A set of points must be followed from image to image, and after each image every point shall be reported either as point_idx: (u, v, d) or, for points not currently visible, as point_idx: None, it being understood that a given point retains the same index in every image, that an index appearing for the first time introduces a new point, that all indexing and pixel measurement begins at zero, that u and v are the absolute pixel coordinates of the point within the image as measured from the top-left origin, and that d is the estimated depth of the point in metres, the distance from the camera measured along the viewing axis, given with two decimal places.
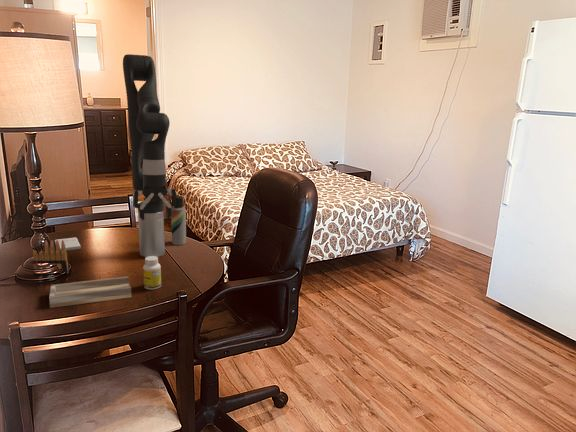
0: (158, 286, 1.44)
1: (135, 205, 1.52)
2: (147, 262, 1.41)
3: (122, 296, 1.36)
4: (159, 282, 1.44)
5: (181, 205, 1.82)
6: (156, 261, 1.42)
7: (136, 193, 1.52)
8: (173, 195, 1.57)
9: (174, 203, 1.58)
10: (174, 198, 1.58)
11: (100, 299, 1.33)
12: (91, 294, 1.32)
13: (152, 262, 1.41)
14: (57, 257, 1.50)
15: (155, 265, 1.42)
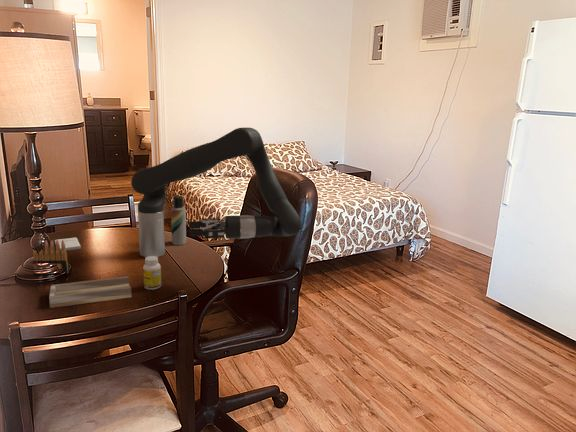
0: (158, 286, 1.44)
1: None
2: (147, 262, 1.41)
3: (122, 296, 1.36)
4: (159, 282, 1.44)
5: (181, 205, 1.82)
6: (156, 261, 1.42)
7: None
8: None
9: None
10: None
11: (100, 299, 1.33)
12: (91, 294, 1.32)
13: (152, 262, 1.41)
14: (57, 257, 1.50)
15: (155, 265, 1.42)
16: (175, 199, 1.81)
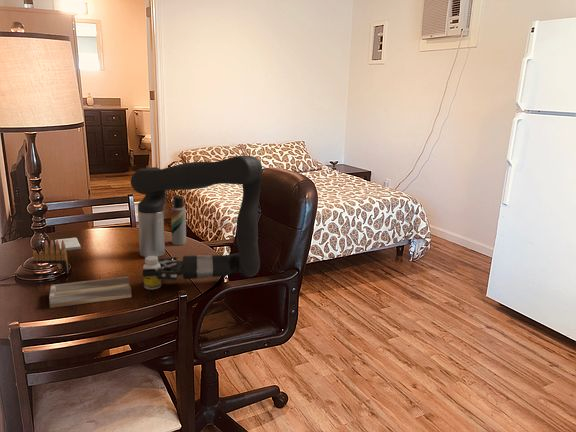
0: (158, 286, 1.44)
1: None
2: (147, 262, 1.41)
3: (122, 296, 1.36)
4: (159, 282, 1.44)
5: (181, 205, 1.82)
6: (156, 261, 1.42)
7: None
8: None
9: None
10: None
11: (100, 299, 1.33)
12: (91, 294, 1.32)
13: (152, 262, 1.41)
14: (57, 257, 1.50)
15: (155, 265, 1.42)
16: (175, 199, 1.81)
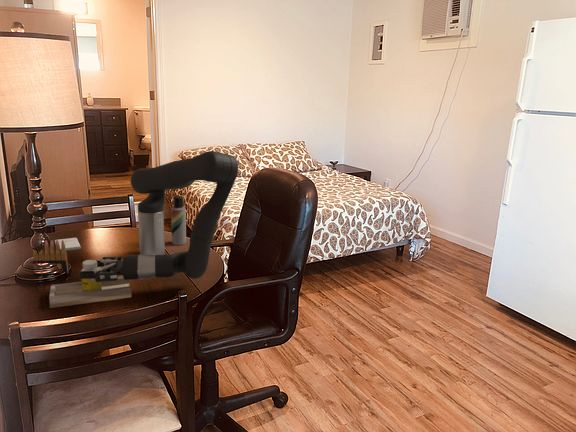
0: None
1: None
2: (84, 266, 1.33)
3: (122, 296, 1.36)
4: (98, 287, 1.36)
5: (181, 205, 1.82)
6: (94, 265, 1.34)
7: None
8: None
9: None
10: None
11: (100, 299, 1.33)
12: (91, 294, 1.32)
13: (90, 266, 1.33)
14: (57, 257, 1.50)
15: None
16: (175, 199, 1.81)
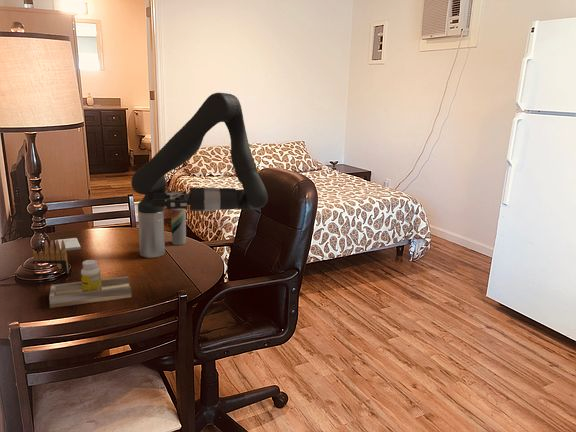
0: None
1: (169, 208, 1.36)
2: (84, 266, 1.33)
3: (122, 296, 1.36)
4: (98, 287, 1.36)
5: None
6: (94, 265, 1.34)
7: None
8: None
9: None
10: None
11: (100, 299, 1.33)
12: (91, 294, 1.32)
13: (90, 266, 1.33)
14: (57, 257, 1.50)
15: (93, 270, 1.34)
16: None
